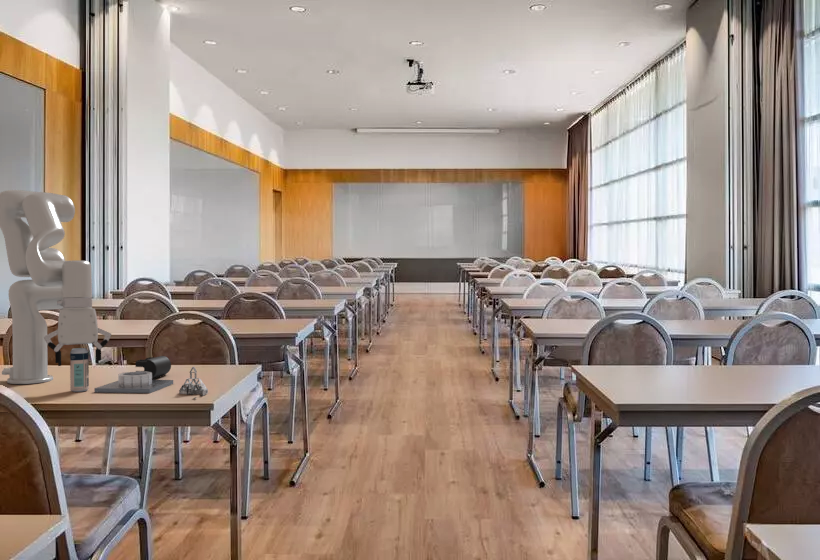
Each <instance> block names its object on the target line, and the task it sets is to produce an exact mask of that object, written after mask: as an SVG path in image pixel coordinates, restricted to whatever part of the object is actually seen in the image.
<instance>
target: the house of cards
mask: <svg viewBox="0 0 820 560" xmlns="http://www.w3.org/2000/svg"><path fill="white" fill-rule="evenodd" d="M197 373H198V372H197V369H196V367H195V366H192V367H191V369H190V371H189V378H188V377H187V378H186V379H185V381H184V383H183V384H182V385H181V386H180V388H179V390H178V394H180V395H186V396H188V395H191V396H193V395H200V396H205V395H208V394H209V389H208V388H207V386H206V384H205V383H204V382H203V380H202V379H201V378H199V377H198V378H197ZM193 374H194V377H193ZM193 382H194V383H193ZM193 399H194V400H195V399H196V397H193Z"/></svg>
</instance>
